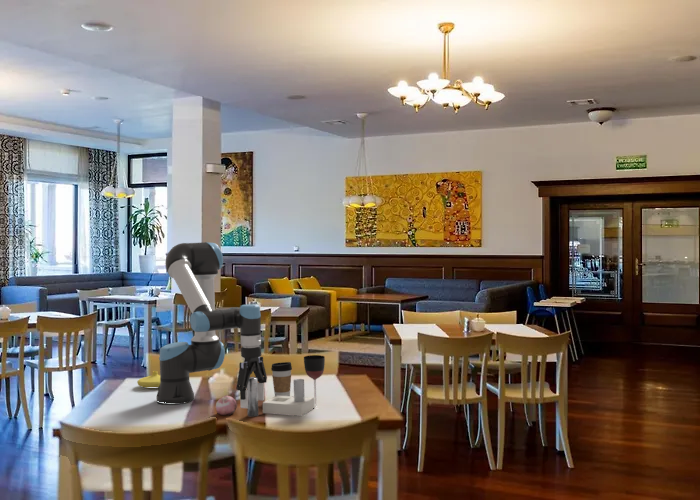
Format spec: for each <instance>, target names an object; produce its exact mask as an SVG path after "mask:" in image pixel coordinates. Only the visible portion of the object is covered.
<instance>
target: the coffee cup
mask: <svg viewBox="0 0 700 500" xmlns="http://www.w3.org/2000/svg"><path fill="white" fill-rule="evenodd" d="M270 370H271V371H272V377H271V378H272V384H273V392H274V397H275V396H277V395H279V396H291V385H292V384H291V383H292V370H293V366H292V363H291V361H290V362H289V361H285V362H283V361H282V362H276V363H274V362H273V363H272V364H271V368H270Z"/></svg>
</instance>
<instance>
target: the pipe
mask: <svg viewBox="0 0 700 500" xmlns="http://www.w3.org/2000/svg"><path fill="white" fill-rule="evenodd" d="M258 383H259V382H258V381H257V377H256V376H250V378H249V382H248V385H247V388H246V390H248V408H246V409H247V417H248V418H249V417H251V418H253V417H258V416H259V400H258Z"/></svg>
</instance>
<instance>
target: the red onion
mask: <svg viewBox="0 0 700 500" xmlns="http://www.w3.org/2000/svg"><path fill="white" fill-rule="evenodd" d="M237 407H238V404H237V401H236V399H235V398H234V397H232V396H230V395H227V394H226V395H224V396H222V397H220V398H219V399H218V400H217V401H216V403H215V410H216V414H217V415H221V416H230V415H232V414H233V413H235V411H236V409H237Z"/></svg>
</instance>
